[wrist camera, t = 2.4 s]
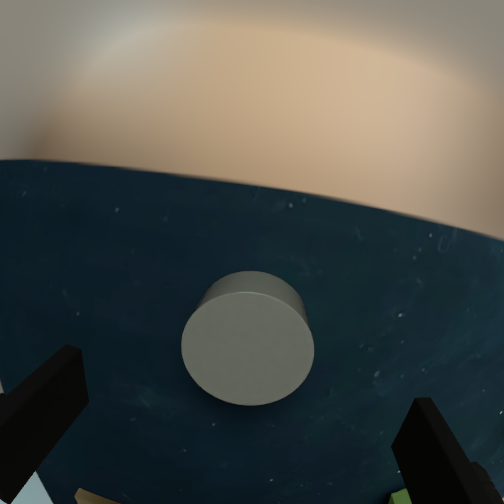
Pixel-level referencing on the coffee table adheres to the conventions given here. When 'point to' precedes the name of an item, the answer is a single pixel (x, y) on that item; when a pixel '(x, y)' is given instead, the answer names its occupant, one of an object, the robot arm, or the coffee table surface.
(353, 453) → the coffee table surface
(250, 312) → the gray cylinder
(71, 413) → the robot arm
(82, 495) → the board
